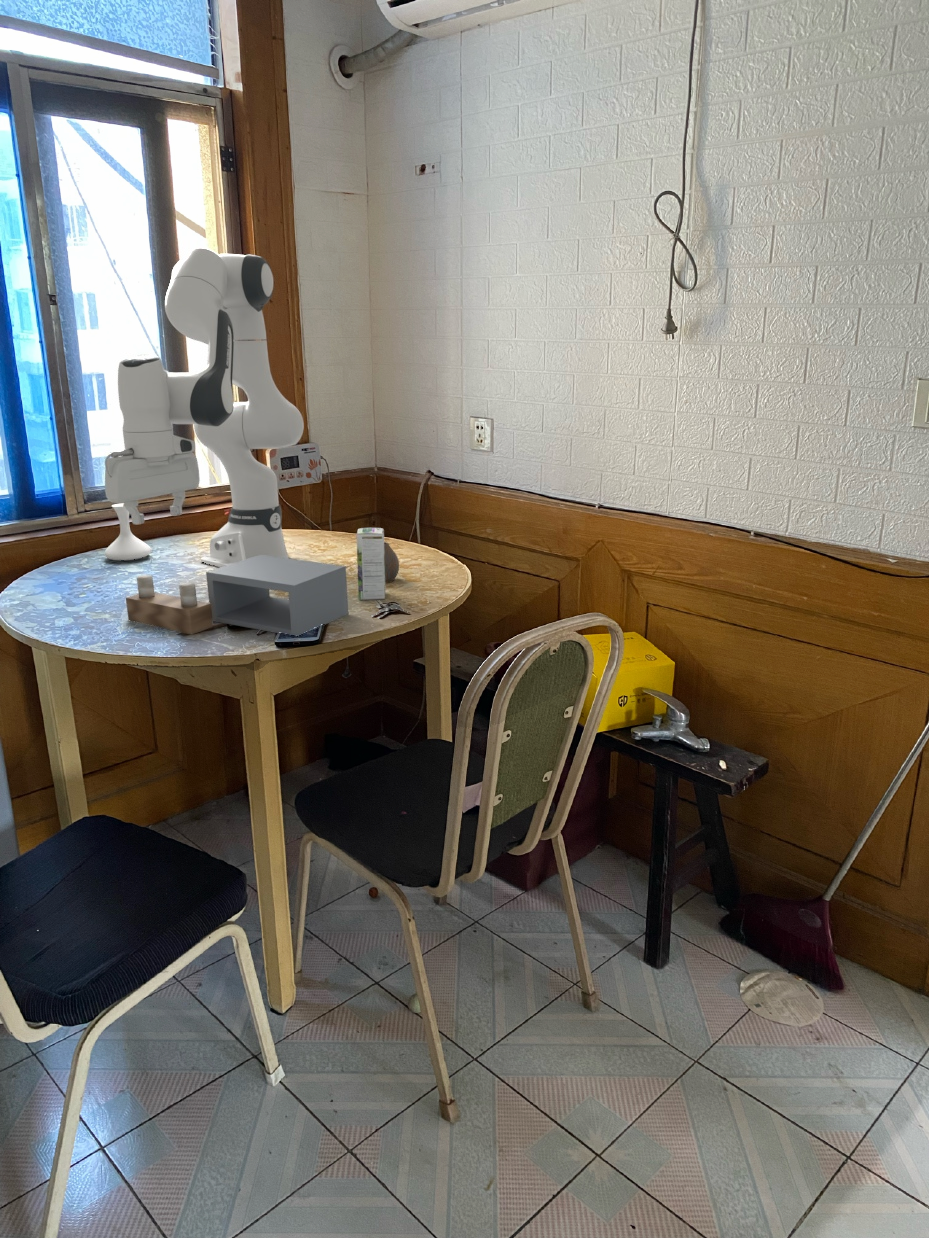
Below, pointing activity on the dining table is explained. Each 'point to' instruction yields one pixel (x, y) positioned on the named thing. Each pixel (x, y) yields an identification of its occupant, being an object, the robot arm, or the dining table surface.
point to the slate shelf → (309, 584)
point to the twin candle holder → (169, 608)
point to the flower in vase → (126, 540)
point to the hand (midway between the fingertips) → (157, 519)
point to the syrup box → (371, 563)
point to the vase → (390, 563)
